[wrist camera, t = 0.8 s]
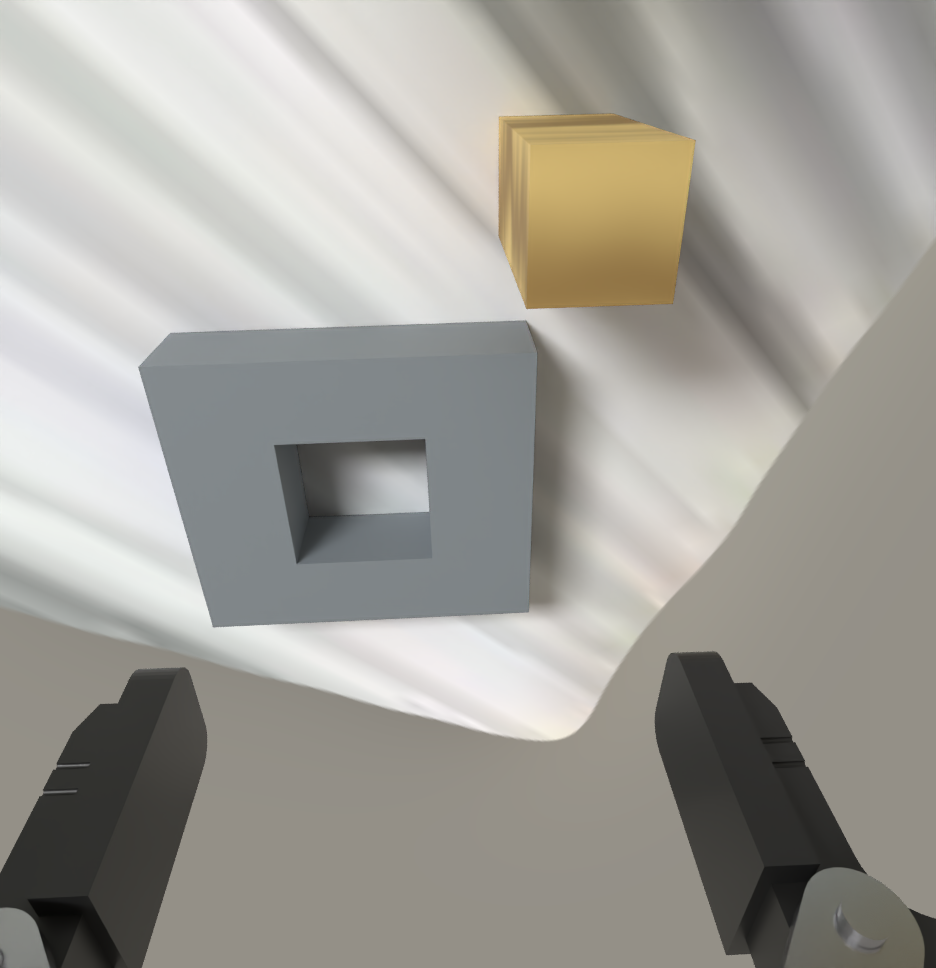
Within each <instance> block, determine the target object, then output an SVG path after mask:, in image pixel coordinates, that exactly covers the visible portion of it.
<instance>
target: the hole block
mask: <svg viewBox="0 0 936 968" xmlns="http://www.w3.org/2000/svg"><path fill="white" fill-rule="evenodd" d="M138 368H139V371H140V375H141V378H142V382H143V385H144V388H145V392H146V395H147V399H148V402H149V406H150V409H151V413H152V416H153V420H154V423H155V427H156V430H157V434H158V437H159V441H160V444H161V447H162V451H163V454H164V458H165V461H166V465H167V468H168V472H169V475H170V479H171V482H172V486H173V489H174V493H175V496H176V500H177V503H178V507H179V510H180V513H181V517H182V520H183V524H184V527H185V531H186V534H187V538H188V541H189V545H190V548H191V552H192V555H193V559H194V562H195V566H196V569H197V572H198V576H199V579H200V583H201V586H202V590H203V593H204V597H205V600H206V604H207V607H208V611H209V614H210V618H211V621H212V625H213V627H229V626H250V625H271V624H292V623H313V622H334V621H356V620H377V619H398V618H419V617H440V616H461V615H482V614H503V613H524V612H529V585H530V556H531V527H532V498H533V468H534V439H535V410H536V381H537V350H536V347H535V344H534V342H533V339H532V336H531V333H530V331H529V328H528V325H527V322H526V321H503V322H474V323H446V324H417V325H389V326H360V327H332V328H303V329H275V330H246V331H217V332H189V333H170V334H169V335H168V336H167V337H166V338H165V339H164V340H163V341H162V343H161V344H160V345H159V346H158V347H157V348H156V349H155V350H154V351H153V352H152V353H151V354H150V355H149V356H148V357H147V358H146V360H145V361H144V362H143V363H142V364H141V365H140V366H139V367H138ZM413 439H425V443H426V460H427V477H428V493H429V510H430V512H419V513H396V514H373V515H349V516H326V517H309V514H308V508H307V502H306V497H305V491H304V485H303V479H302V473H301V467H300V461H299V456H298V450H297V444H313V443H338V442H363V441H388V440H413Z"/></svg>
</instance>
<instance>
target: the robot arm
mask: <svg viewBox="0 0 936 968" xmlns="http://www.w3.org/2000/svg"><path fill="white" fill-rule="evenodd" d="M655 732H656V739H657V744H658V748H659V752H660V755H661V758H662V761H663V763H664V767H665V770H666V773H667V776H668V779H669V782H670V785H671V788H672V791H673V794H674V797H675V800H676V803H677V806H678V809H679V812H680V816H681V818H682V822H683V825H684V828H685V831H686V833H687V837H688V840H689V843H690V846H691V849H692V852H693V855H694V858H695V861H696V864H697V867H698V870H699V874H700V877H701V880H702V883H703V886H704V889H705V892H706V895H707V898H708V901H709V904H710V907H711V910H712V913H713V916H714V919H715V922H716V925H717V928H718V931H719V934H720V938H721V941H722V944H723V946H724V950H725V953H726V955H738V954H751V956H752V959H753V961H754V965H755V967H756V968H936V919H934V918H931V917H928V916H925V915H923V914H920V913H918V912H916V911H914V910H911V909H909V908H907V906H906V905H905V904H904V903H903V902H902V900H901V899H900V898H899V897H898V896H897V895H896V894H895V893H894V892H893V891H891V890H890V889H889V888H888V887H886V886H885V885H884V884H882V883H881V882H880V881H878V880H876V879H874V878H873V877H871V876H869V875H867V873H866V872H865V871H864V870H863V868H862V867H861V865H860V864H859V862H858V860H857V859H856V857H855V855H854V853H853V852H852V850H851V848H850V846H849V844H848V842H847V840H846V838H845V836H844V834H843V833H842V830H841V829H840V827H839V825H838V823H837V821H836V819H835V817H834V815H833V813H832V811H831V810H830V808H829V806H828V804H827V802H826V800H825V798H824V796H823V794H822V792H821V791H820V789H819V787H818V785H817V783H816V781H815V780H814V778H813V776H812V773H811V771H810V770H809V768H808V767H806V766H805V762H804V761H805V760H804V758H803V756H802V755H801V752H800V751H799V749H798V747H797V745H796V743H795V742H793V741H792V735H791V734H790V732H789V730H788V728H787V726H786V724H785V722H784V720H783V718H782V716H781V714H780V713H779V711H778V709H777V707H776V706H775V705H774V704H773V703H772V702H771V701H770V700H768V698H767V697H765V695H763V694H762V693H761V692H760V691H759V690H758V689H757V688H756V687H755V686H754V685H753V684H752V683H734V682H733V680H732V678H731V676H730V674H729V672H728V670H727V668H726V666H725V663H724V662H723V660H722V658H721V656H720V655H719V654H718V653H717V652H714V651H712V652H682V653H671V654H670V655H669V656H668V659H667V663H666V667H665V671H664V676H663V680H662V684H661V689H660V694H659V698H658V702H657V707H656V712H655ZM206 751H207V731H206V725H205V722H204V719H203V715H202V712H201V709H200V705H199V702H198V699H197V695H196V692H195V689H194V686H193V682H192V679H191V676H190V673H189V671H188V670H187V669H186V668H157V669H138V670H136V671H135V672H134V673H133V674H132V676H131V677H130V679H129V681H128V683H127V685H126V687H125V689H124V692H123V694H122V696H121V698H120V700H119V702H118V704H100V705H99V706H98V707H97V708H96V709H95V710H94V711H93V712H92V713H91V714H90V715H89V716H88V717H87V718H86V719H85V720H84V721H83V722H82V723H81V724H80V725H79V726H78V727H77V728H76V730H74V731H73V732H72V734H71V736H70V738H69V740H68V742H67V744H66V746H65V748H64V750H63V752H62V754H61V756H60V758H59V760H58V762H57V768H56V770H53V771H52V773H51V775H50V777H49V779H48V782H47V783H46V785H45V787H44V789H43V791H44V793H43V795H42V796H40V797H39V799H38V801H37V803H36V805H35V807H34V808H33V811H32V812H31V814H30V816H29V818H28V820H27V822H26V824H25V826H24V828H23V830H22V832H21V834H20V836H19V838H18V840H17V842H16V844H15V846H14V847H13V849H12V851H11V853H10V855H9V857H8V859H7V861H6V863H5V865H4V867H3V869H2V871H1V873H0V968H142V965H143V962H144V958H145V955H146V952H147V949H148V945H149V942H150V939H151V936H152V933H153V929H154V926H155V923H156V919H157V916H158V913H159V909H160V907H161V903H162V900H163V897H164V894H165V890H166V887H167V884H168V881H169V877H170V874H171V871H172V867H173V864H174V861H175V858H176V855H177V851H178V848H179V845H180V842H181V838H182V835H183V832H184V829H185V825H186V822H187V819H188V816H189V812H190V809H191V806H192V802H193V799H194V796H195V793H196V790H197V787H198V783H199V780H200V777H201V774H202V770H203V767H204V763H205V758H206Z"/></svg>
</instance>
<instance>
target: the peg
mask: <svg viewBox="0 0 936 968" xmlns="http://www.w3.org/2000/svg"><path fill="white" fill-rule="evenodd" d="M695 141H696V140H693V139H690V138H687V137H684V136H680V135H677V134H674V133H671V132H668V131H665V130H662V129H659V128H656V127H653V126H650V125H646V124H643V123H640V122H637V121H634V120H631V119H628V118H625V117H622V116H619V115H616V114H580V115H542V116H504V117H499V238H500V241H501V243H502V246H503V249H504V251H505V254H506V256H507V259H508V262H509V264H510V267H511V270H512V272H513V275H514V277H515V280H516V283H517V285H518V288H519V291H520V293H521V296H522V299H523V301H524V304H525V306H526V309H537V308H566V307H595V306H624V305H653V304H673V300H674V293H675V286H676V278H677V271H678V264H679V257H680V249H681V242H682V235H683V228H684V220H685V213H686V206H687V199H688V191H689V184H690V177H691V170H692V162H693V155H694V148H695Z"/></svg>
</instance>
